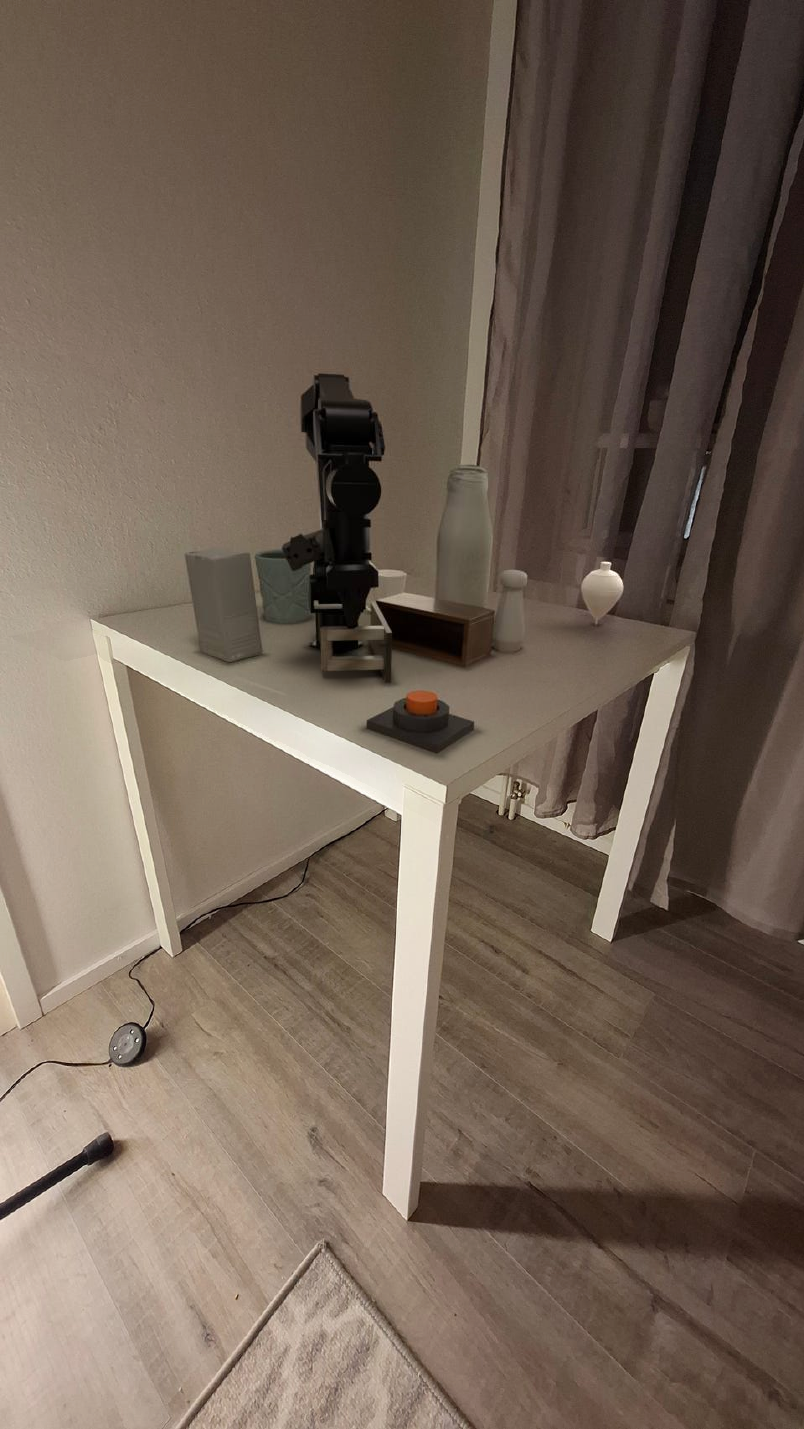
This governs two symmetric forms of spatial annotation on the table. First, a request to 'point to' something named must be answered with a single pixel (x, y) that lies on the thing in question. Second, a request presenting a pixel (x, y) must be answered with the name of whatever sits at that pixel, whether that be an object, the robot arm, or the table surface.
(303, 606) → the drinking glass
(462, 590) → the glass bottle
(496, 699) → the table surface
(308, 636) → the table surface
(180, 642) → the table surface
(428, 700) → the release button
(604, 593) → the spinning top
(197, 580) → the cosmetic box
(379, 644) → the door
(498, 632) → the salt shaker
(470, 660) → the cabinet
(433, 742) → the button block
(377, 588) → the cup
